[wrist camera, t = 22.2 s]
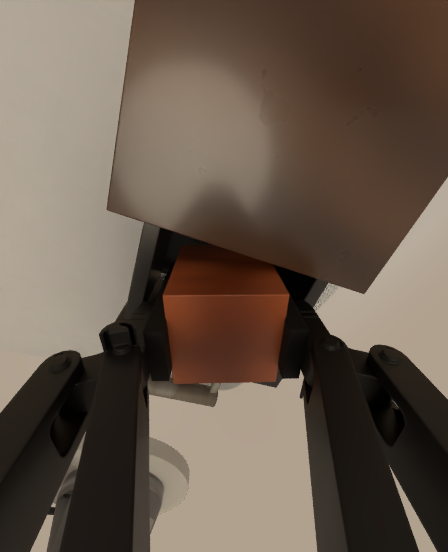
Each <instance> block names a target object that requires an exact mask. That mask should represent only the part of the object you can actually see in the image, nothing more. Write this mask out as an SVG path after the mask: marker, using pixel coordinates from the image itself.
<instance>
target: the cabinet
mask: <svg viewBox="0 0 448 552" xmlns="http://www.w3.org/2000/svg"><path fill="white" fill-rule="evenodd" d="M447 177H448V0H135V4H134V12H133V19H132V26H131V34H130V41H129V48H128V56H127V63H126V71H125V78H124V85H123V93H122V100H121V107H120V115H119V122H118V130H117V137H116V144H115V152H114V159H113V166H112V174H111V181H110V188H109V196H108V203H107V210H108V211H111V212H114V213H117V214H120V215H123V216H126V217H129V218H132V219H136V220H139V221H142V222H145V223H148V224H151V225H154V226H157V227H160V228H163V229H166V230H169V231H172V232H175V233H178V234H182V235H185V236H188V237H191V238H194V239H197V240H200V241H203V242H206V243H209V244H212V245H215V246H218V247H221V248H224V249H228V250H231V251H234V252H237V253H240V254H243V255H246V256H249V257H252V258H255V259H258V260H261V261H264V262H267V263H270V264H274V265H277V266H280V267H283V268H286V269H289V270H292V271H295V272H298V273H301V274H304V275H307V276H310V277H313V278H316V279H320V280H323V281H326V282H329V283H332V284H335V285H338V286H341V287H344V288H347V289H350V290H353V291H356V292H359V293H362V294H364V293H365V292H366V291H367V290H368V288H369V287H370V285H371V284H372V282H373V281H374V280H375V278H376V277H377V275H378V274H379V272H380V271H381V270H382V268H383V267H384V266H385V264H386V263H387V261H388V260H389V259H390V257H391V256H392V254H393V253H394V252H395V250H396V249H397V247H398V246H399V244H400V243H401V242H402V240H403V239H404V237H405V236H406V235H407V233H408V232H409V230H410V229H411V228H412V226H413V225H414V224H415V222H416V221H417V219H418V218H419V217H420V215H421V214H422V212H423V211H424V209H425V208H426V207H427V205H428V204H429V202H430V201H431V200H432V198H433V197H434V195H435V194H436V193H437V191H438V190H439V188H440V187H441V186H442V184H443V183H444V181H445V180H446V179H447Z"/></svg>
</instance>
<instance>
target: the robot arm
mask: <svg viewBox="0 0 448 552" xmlns="http://www.w3.org/2000/svg"><path fill="white" fill-rule="evenodd" d="M174 265H175V263H171V265H170V268H169V270H168V272H167V275H166V277H165V280H164V282H163V284H162V287H161V289H160V292H159V294H158V296H157V299H156V301H155V302H142V303H141V304H139V305H138V306H137V307H136V308H135V310H134V311H133V313H132V315H131V317H130V319H129V321H118V322H114V323H111V324H109V325H107V326H106V327H105V328H103V329H102V330H101V332H100V334H99V336H100V340H101V343H102V347H103V350H104V352H103V353H100V354H97V355H93V356H88V357H84V358H81V356H80V354H79V353H78V352H77V351H72V350H68V351H62V352H59V353H57V354H54V355H52V356H51V357H49V358H47V359H46V360H45V361H44V362H43V363H42V364H41V365H40V366H39V367H38V368H37V370H36V371H35V372H34V373H33V374H32V376H31V377H30V378H29V380H27V382H26V383H25V384H24V385H23V386H22V388H21V389H20V390H19V391H18V392H17V394H16V395H15V396H14V397H13V398H12V400H11V401H10V402H9V403H8V405H7V406H6V407H5V408H4V409H3V411H2V412H1V413H0V552H30V551H31V548H32V546H33V544H34V542H35V540H36V538H37V535H38V533H39V531H40V529H41V527H42V525H43V523H44V520H45V518H46V516H47V515H54V517H53V522H52V527H51V532H50V537H49V542H48V547H47V552H150V534H151V531H152V529H153V526H154V524H155V521H156V519H157V516H158V514H159V511H160V509H161V506H162V499H163V493H164V487H163V484H162V482H161V481H160V480H159V479H158V478H157V477H156V476H155V475H153V474H152V473H150V472H149V388H148V383H147V382H148V379H149V375H150V374H151V380H152V381H169V380H170V375H171V370H172V361H171V353H170V345H169V337H168V328H167V320H166V319H165V311H164V303H163V294H164V291H165V289H166V286H167V283H168V281H169V278H170V275H171V273H172V270H173V268H174ZM273 265H274V264H273ZM274 267H275V266H274ZM275 269H276V268H275ZM276 271H277V270H276ZM277 273H278V271H277ZM278 275H279V273H278ZM279 276H280V275H279ZM280 278H281V277H280ZM281 280H282V279H281ZM282 282H283V281H282ZM283 284H284V282H283ZM284 286H285V284H284ZM285 287H286V286H285ZM286 289H287V288H286ZM287 291H288V290H287ZM288 293H289V292H288ZM278 368H279V371H280V374H281V378H282V379H284V378H299V374H300V370H301V371H302V373H303V375H304V380H303V385H302V389H301V393H300V398H303V397H304V409H305V419H306V431H307V441H308V453H309V464H310V475H311V486H312V497H313V507H314V519H315V530H316V541H317V551H318V552H419V550H418V547H417V544H416V541H415V538H414V536H413V533H412V530H411V527H410V524H409V521H408V518H407V516H406V513H405V510H404V507H403V504H402V501H401V498H400V496H399V493H398V490H397V487H396V484H395V481H394V478H393V476H392V473H391V470H390V467H391V469H392V471H393V473H394V474H395V476H396V478H397V480H398V482H399V483H400V485H401V487H402V489H403V491H404V492H405V494H406V496H407V498H408V500H409V501H410V503H411V505H412V507H413V508H414V510H415V512H416V514H417V516H418V517H419V519H420V521H421V523H422V525H423V526H424V528H425V530H426V532H427V533H428V535H429V537H430V539H431V541H432V543H433V544H434V546H435V548H436V550H437V552H448V399H447V398H446V397H445V396H444V395H443V394H442V393H441V392H440V391H439V390H438V389H437V388H436V387H435V386H434V385H433V384H432V383H431V382H430V381H429V379H428V378H427V377H426V376H425V375H424V374H423V373H422V372H421V371H420V370H419V369H418V368H417V367H416V366H415V365H414V364H413V363H412V362H411V361H410V360H409V358H408V357H407V356H405V355H404V354H403V353H402V352H400V351H398V350H396V349H394V348H392V347H389V346H386V345H374V346H373V347H371V348H370V351H369V353H367V352H363V351H358V350H353V349H350V348H348V347H347V345H346V344H345V343H344V342H343V341H342V340H341V339H339V338H338V337H336V336H333V335H330V333H329V332H328V330H327V329H326V327H325V326H324V324H323V322H322V321H321V319H320V318H319V316H318V315H317V313H315V310H314V309H313V307H312V306H311V305H310V304H309V303H308V302H306V301H305V300H293V299H292V297H291V295H290V293H289V301H288V307H287V314H286V318H285V322H284V328H283V334H282V341H281V347H280V354H279V360H278ZM394 402H395V403H396V404H395V403H394ZM396 405H397V406H398V407H399V408H398V407H397V406H396ZM85 432H86V434H85ZM84 434H85V438H84V443H83V447H82V452H81V456H80V461H79V465H78V469H76V470H74V471H73V472H71V473H70V474H69V475H68V476H67V477H66V479H65V481H64V483H63V485H62V487H61V489H60V491H59V494H58V496H57V502H56V507H51V505H52V503H53V501H54V499H55V497H56V495H57V492H58V490H59V488H60V486H61V484H62V482H63V479H64V477H65V475H66V473H67V471H68V469H69V466H70V464H71V462H72V460H73V458H74V456H75V454H76V451H77V449H78V447H79V445H80V443H81V441H82V438H83V436H84ZM389 465H390V467H389Z"/></svg>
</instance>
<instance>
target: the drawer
mask: <svg viewBox="0 0 448 552" xmlns="http://www.w3.org/2000/svg"><path fill="white" fill-rule="evenodd" d="M182 245H212V244H209V243H206V242H203V241H200V240H197V239H194V238H191V237H188V236H185V235H182V234H178V233H175V232H172V231H169V230H166V229H163V228H160V227H157V226H154V225H151V224H148V223H145V222H144V225H143V229H142V234H141V239H140V244H139V249H138V253H137V258H136V263H135V268H134V273H133V277H132V282H131V287H130V292H129V297H128V301H127V303H126V305H125V306H124V308H123V309H122V311H121V313H120V314H119V316H118V318H117V319H116V321H115V322H118V321H129V319H130V317H131V315H132V313H133V311H134V310H135V308H136V307H137V306H138V305H139V304H141V303H142V302H155V301H156V299H157V296H158V294H159V292H160V289H161V287H162V284H163V282H164V281H162V280H159V279H158V278H159V276H160V274H161V272H162V273H166V274H167V272H168V270H169V268H170V265H171V263H175V262H176V260H177V257H178V255H179V252H180V249H181V247H182ZM274 266H275V268H276V270H277V271H278V273H279V275H280V277H281V279H282V281H283V282H284V284H285V286H286V288H287V290H288V292H289V293H290V295H291V297H292V299H293V300H305V301H306V302H308V303H309V304H310V305H311V306H312V307H314V305H315V303H316V302H317V300H318V299H319V297H320V295H321V294H322V292H323V291H324V289H325V287H326V286H327V284H328V282H326V281H323V280H320V279H316V278H313V277H310V276H307V275H304V274H301V273H298V272H295V271H292V270H289V269H286V268H283V267H280V266H277V265H274ZM281 380H282V378H281V374H280V371H279V368H278V371H277V377H276V382H253V383H258V384H262V385H267V386H271V387H277V386H278V384H279V383H280V381H281ZM147 383H148V388H149V394H150V395H155V396H160V397H165V398H170V399H176V400H181V401H186V402H191V403H196V404H201V405H206V406H211V407H214V406H215V404H216V401H217V397H218V388H219V386H220V384H221V383H212V384H211V386H208V385H203V384H198V383H193V384H174V383H173V378H170V380H169V381H152V380H151V374H150V375H149V379H148V382H147Z"/></svg>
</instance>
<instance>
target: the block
mask: <svg viewBox="0 0 448 552" xmlns="http://www.w3.org/2000/svg"><path fill="white" fill-rule="evenodd" d="M288 301H289V293H288V291H287V289H286V287H285V286H284V284H283V282H282V280H281V278H280V276H279V275H278V273H277V271H276V269H275V267H274V265H273V264H270V263H267V262H264V261H261V260H258V259H255V258H252V257H249V256H246V255H243V254H240V253H237V252H234V251H231V250H228V249H224V248H221V247H218V246H215V245H182V247H181V249H180V252H179V255H178V257H177V260H176V262H175V265H174V268H173V270H172V273H171V275H170V278H169V281H168V283H167V286H166V289H165V291H164V294H163V303H164V311H165V319H166V320H167V328H168V337H169V345H170V353H171V361H172V376H173V383H174V384H193V383H241V382H276V377H277V371H278V360H279V354H280V347H281V341H282V334H283V328H284V322H285V318H286V314H287V307H288Z"/></svg>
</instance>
